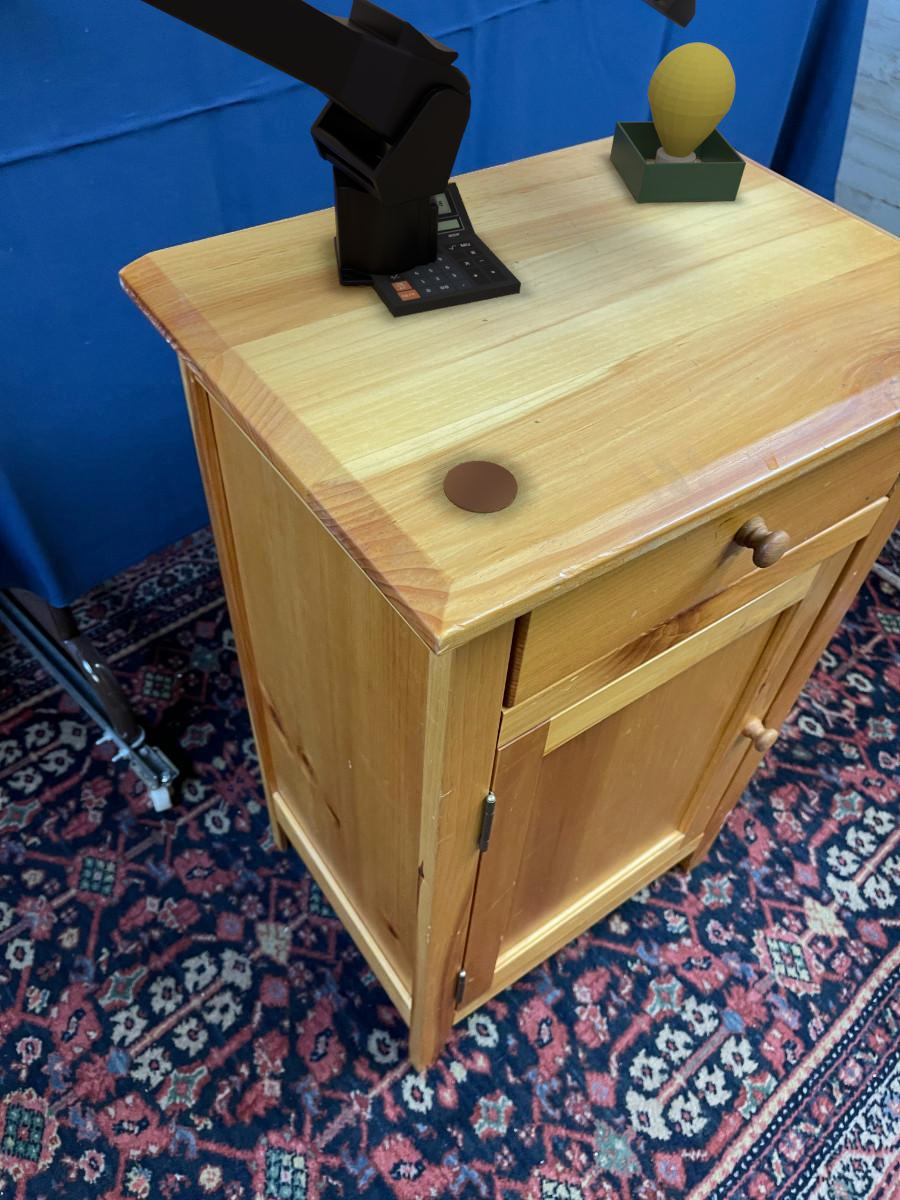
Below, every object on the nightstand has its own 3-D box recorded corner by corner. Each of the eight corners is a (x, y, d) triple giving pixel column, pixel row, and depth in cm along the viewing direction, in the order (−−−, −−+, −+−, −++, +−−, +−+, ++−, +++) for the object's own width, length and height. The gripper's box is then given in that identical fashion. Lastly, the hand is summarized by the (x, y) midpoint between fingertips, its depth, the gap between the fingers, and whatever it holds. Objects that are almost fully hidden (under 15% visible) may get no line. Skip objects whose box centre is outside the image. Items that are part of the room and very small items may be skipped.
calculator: (394, 318, 57) (394, 276, 55) (336, 238, 64) (334, 197, 62) (519, 293, 60) (524, 252, 58) (451, 219, 67) (453, 179, 65)
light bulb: (616, 167, 74) (641, 33, 67) (682, 157, 76) (713, 27, 69) (658, 201, 70) (689, 63, 63) (726, 190, 72) (764, 55, 65)
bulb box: (637, 202, 70) (645, 164, 68) (609, 158, 75) (616, 121, 73) (735, 200, 71) (746, 162, 69) (700, 157, 76) (710, 120, 74)
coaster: (449, 515, 45) (449, 512, 45) (438, 465, 48) (438, 462, 48) (524, 509, 46) (524, 507, 46) (509, 460, 48) (509, 458, 48)
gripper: (769, -350, 40) (833, -78, 53) (524, -374, 50) (628, -139, 62) (611, -118, 43) (707, 86, 56) (408, -184, 53) (530, 3, 65)
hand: (641, 1), depth 60 cm, fingers open, 9 cm apart
